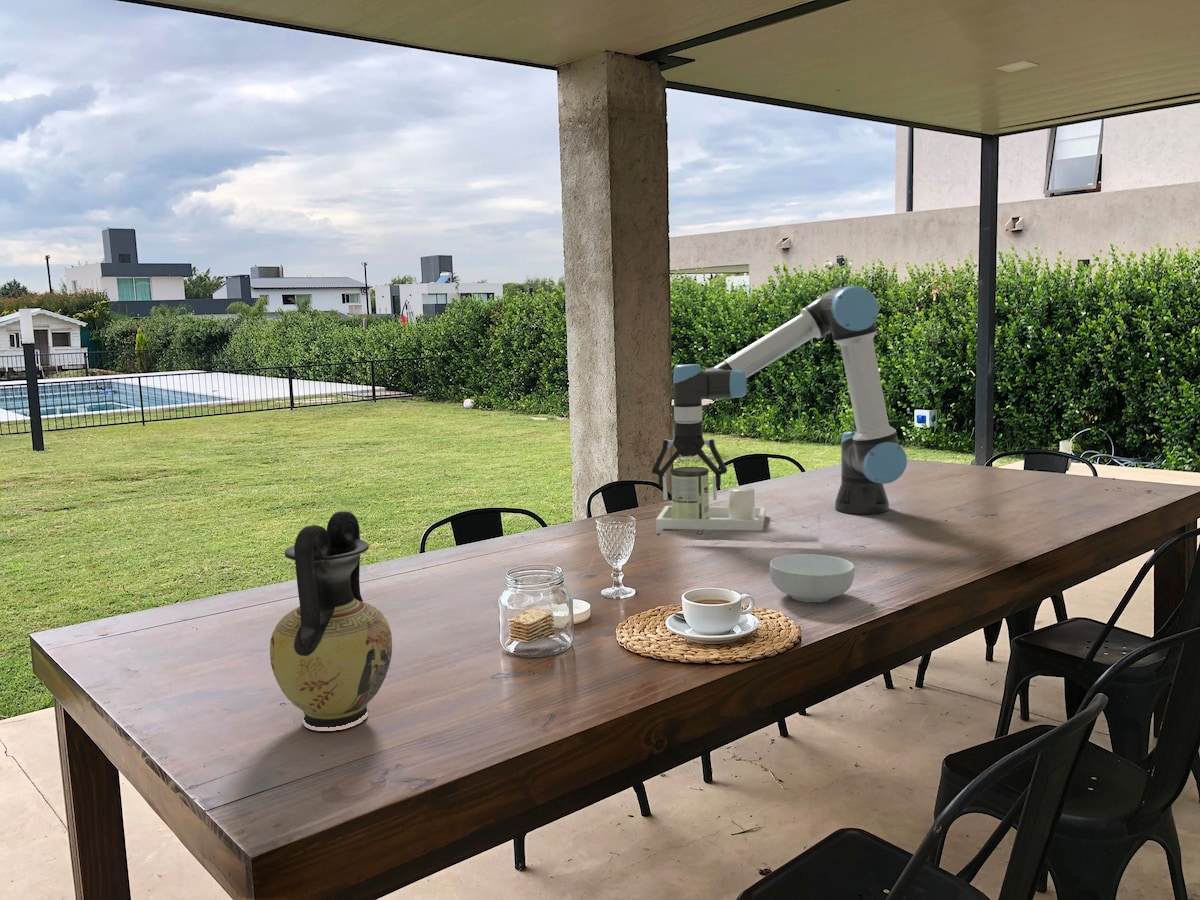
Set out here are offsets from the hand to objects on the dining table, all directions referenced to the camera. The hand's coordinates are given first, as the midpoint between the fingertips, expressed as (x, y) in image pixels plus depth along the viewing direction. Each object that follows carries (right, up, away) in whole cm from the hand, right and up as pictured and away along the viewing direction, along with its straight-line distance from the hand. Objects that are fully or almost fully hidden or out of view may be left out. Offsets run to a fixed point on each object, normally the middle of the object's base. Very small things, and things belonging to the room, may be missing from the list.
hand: (690, 499), depth 253 cm
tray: (+6, -8, 0) cm, 10 cm away
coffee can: (0, -6, +1) cm, 6 cm away
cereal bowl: (+18, -17, -66) cm, 70 cm away
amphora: (-63, -26, -118) cm, 136 cm away
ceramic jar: (+14, -6, -2) cm, 15 cm away
